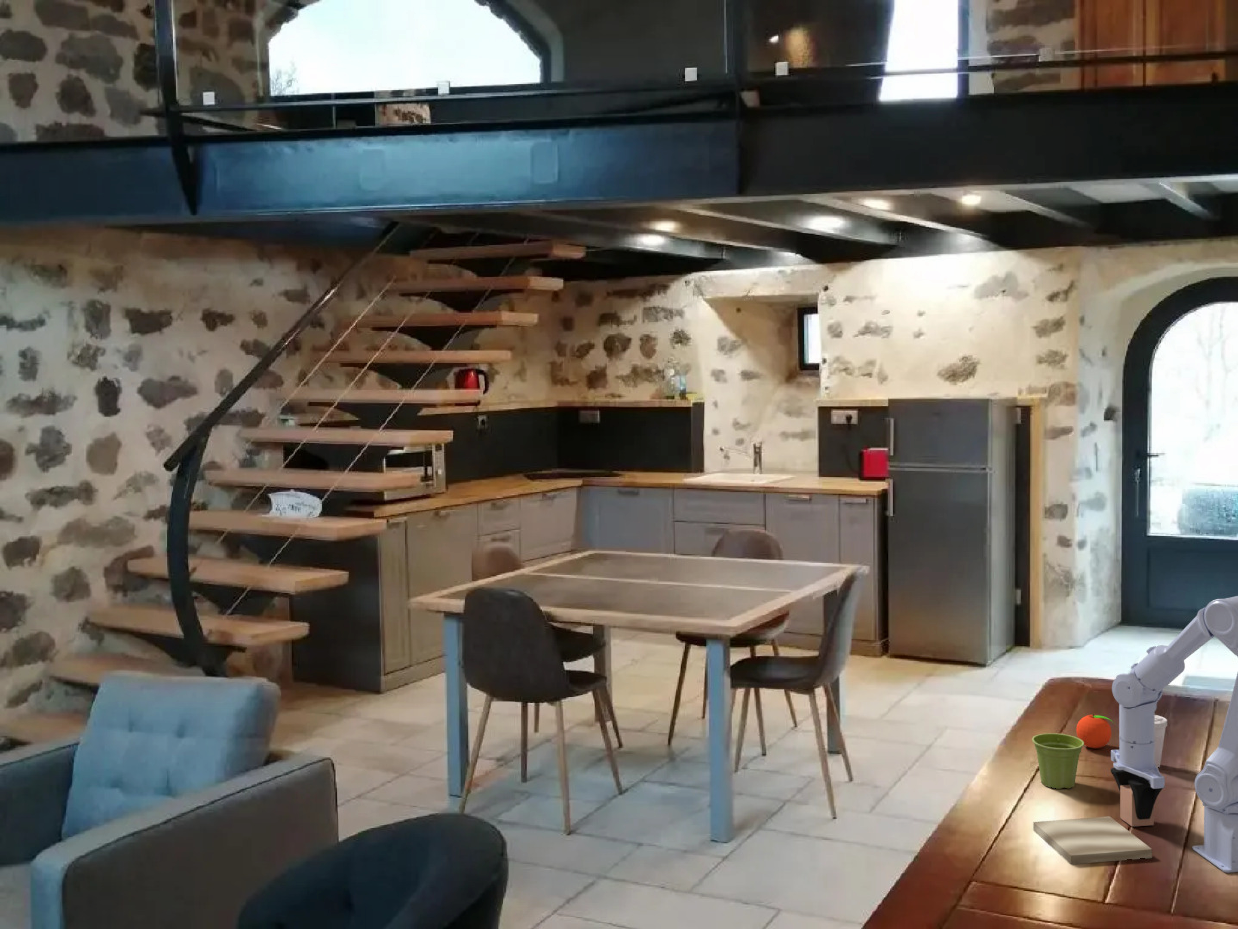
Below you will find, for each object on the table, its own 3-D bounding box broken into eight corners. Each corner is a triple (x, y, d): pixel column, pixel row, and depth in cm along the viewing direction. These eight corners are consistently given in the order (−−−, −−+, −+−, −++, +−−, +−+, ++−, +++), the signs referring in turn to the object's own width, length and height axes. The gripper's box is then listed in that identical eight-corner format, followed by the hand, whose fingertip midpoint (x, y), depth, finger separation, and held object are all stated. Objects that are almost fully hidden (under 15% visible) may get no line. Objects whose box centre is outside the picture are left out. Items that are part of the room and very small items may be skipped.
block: (1153, 825, 206) (1153, 792, 206) (1131, 826, 206) (1131, 793, 206) (1141, 816, 210) (1141, 783, 210) (1120, 817, 210) (1120, 785, 210)
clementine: (1114, 743, 249) (1114, 710, 249) (1119, 754, 243) (1119, 720, 242) (1074, 741, 251) (1074, 709, 251) (1078, 752, 245) (1078, 719, 244)
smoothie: (1170, 771, 232) (1171, 702, 230) (1136, 770, 233) (1136, 702, 232) (1162, 760, 238) (1163, 693, 237) (1129, 759, 239) (1129, 692, 238)
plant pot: (1042, 772, 234) (1042, 729, 234) (1090, 781, 228) (1090, 738, 228) (1025, 786, 227) (1024, 743, 226) (1074, 796, 221) (1074, 752, 220)
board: (1152, 858, 194) (1152, 849, 194) (1070, 864, 193) (1070, 855, 193) (1109, 824, 208) (1109, 816, 208) (1033, 830, 207) (1033, 822, 207)
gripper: (1094, 727, 214) (1095, 799, 215) (1136, 754, 199) (1136, 831, 201) (1132, 725, 214) (1131, 797, 216) (1176, 751, 200) (1175, 828, 201)
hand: (1136, 813), depth 208 cm, fingers closed on block, 4 cm apart
